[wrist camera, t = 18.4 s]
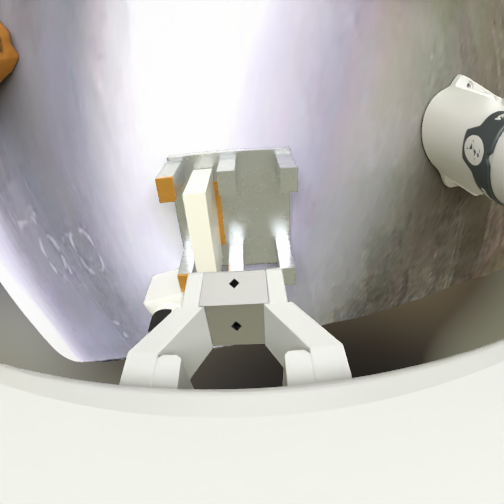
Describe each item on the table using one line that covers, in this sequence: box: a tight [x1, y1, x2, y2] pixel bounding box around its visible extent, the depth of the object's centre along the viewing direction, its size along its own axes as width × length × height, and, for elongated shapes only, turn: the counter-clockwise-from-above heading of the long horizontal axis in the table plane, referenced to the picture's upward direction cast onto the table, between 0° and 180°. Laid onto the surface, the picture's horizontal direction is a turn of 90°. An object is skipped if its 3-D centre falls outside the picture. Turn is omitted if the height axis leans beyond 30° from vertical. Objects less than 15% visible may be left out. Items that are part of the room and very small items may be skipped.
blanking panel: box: [182, 168, 223, 272], centre depth 38 cm, size 2×14×8 cm, turn 3°
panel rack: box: [155, 146, 298, 292], centre depth 40 cm, size 16×18×8 cm
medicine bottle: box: [144, 268, 184, 333], centre depth 46 cm, size 7×7×12 cm
